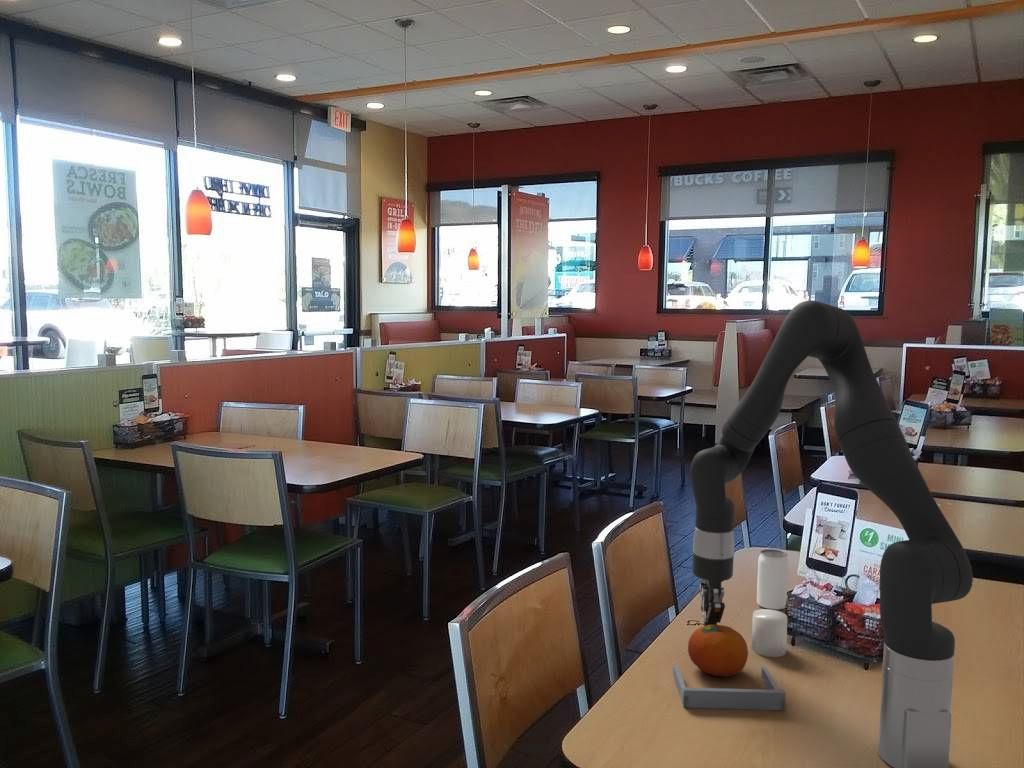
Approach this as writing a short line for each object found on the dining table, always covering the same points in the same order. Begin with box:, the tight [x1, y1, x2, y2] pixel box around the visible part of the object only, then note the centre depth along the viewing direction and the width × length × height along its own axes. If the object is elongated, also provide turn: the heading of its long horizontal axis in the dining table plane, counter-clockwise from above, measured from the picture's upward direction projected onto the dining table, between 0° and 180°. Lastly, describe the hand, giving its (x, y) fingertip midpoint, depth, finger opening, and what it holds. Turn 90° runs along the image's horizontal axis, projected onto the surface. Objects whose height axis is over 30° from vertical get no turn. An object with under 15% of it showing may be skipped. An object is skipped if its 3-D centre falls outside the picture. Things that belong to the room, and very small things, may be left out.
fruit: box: [687, 624, 749, 677], centre depth 150 cm, size 11×10×8 cm
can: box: [756, 548, 790, 611], centre depth 183 cm, size 6×6×12 cm
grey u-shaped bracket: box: [672, 664, 786, 711], centre depth 143 cm, size 12×17×3 cm
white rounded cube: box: [751, 608, 788, 658], centre depth 160 cm, size 6×6×7 cm
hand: (709, 638), depth 158 cm, fingers closed
